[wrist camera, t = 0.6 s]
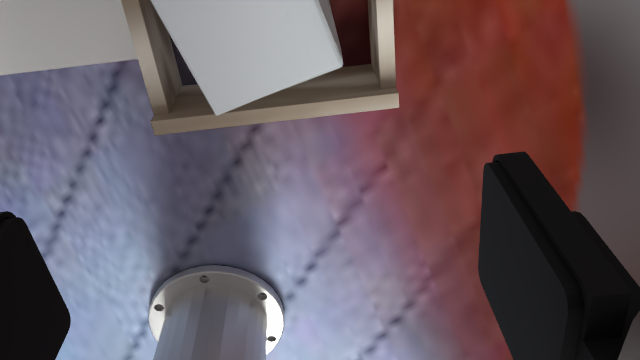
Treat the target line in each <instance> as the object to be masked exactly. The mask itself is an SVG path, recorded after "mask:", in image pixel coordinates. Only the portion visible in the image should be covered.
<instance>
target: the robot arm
mask: <svg viewBox="0 0 640 360" xmlns="http://www.w3.org/2000/svg"><path fill="white" fill-rule="evenodd" d="M478 270H479V277H480V281H481V284H482V287H483V289H484V291H485V294H486V296H487V298H488V301H489V303H490V306H491V308H492V310H493V313H494V315H495V317H496V320H497V322H498V324H499V327H500V329H501V331H502V334H503V336H504V338H505V341H506V343H507V345H508V348H509V350H510V352H511V355H512V357H513V359H514V360H640V287H639V286H638V285H637V283H636V282H635V281H634V279H633V278H632V277H631V276H630V274H629V273H628V272H627V270H626V269H625V268H624V267H623V265H622V264H621V263H620V262H619V260H618V259H617V258H616V256H615V255H614V254H613V253H612V251H611V250H610V249H609V248H608V246H607V245H606V244H605V242H604V241H603V240H602V239H601V237H600V236H599V235H598V234H597V232H596V231H595V230H594V228H593V227H592V226H591V224H590V223H589V222H588V221H587V219H586V218H585V217H584V216H583V215H582V214H581V213H579V212H576V211H573V212H571V211H570V210H569V208H568V207H567V206H566V204H565V203H564V202H563V200H562V199H561V198H560V196H559V195H558V194H557V192H556V191H555V190H554V188H553V187H552V186H551V184H550V183H549V182H548V180H547V179H546V178H545V177H544V175H543V174H542V173H541V171H540V170H539V169H538V167H537V166H536V165H535V163H534V162H533V161H532V159H531V158H530V157H529V155H528V154H527V153H526V152H516V153H507V154H499V155H495V156H494V158H493V162H492V163H486V164H485V166H484V171H483V190H482V208H481V226H480V245H479V263H478ZM148 318H149V326H150V329H151V332H152V334H153V336H154V337H155V339H156V340H157V342H158V344H157V348H156V351H155V355H154V358H153V360H266V354H268V353H269V352H270V351H271V350H272V349H273V348H274V347H275V346H276V344H277V343H278V342H279V340H280V338H281V336H282V333H283V328H284V310H283V305H282V303H281V301H280V299H279V296H278V295H277V294H276V292H275V291H274V290H273V289H272V287H270V286H269V285H268V284H267V283H266V282H265V281H264V280H262V279H260V278H259V277H257V276H255V275H254V274H252V273H249V272H246V271H244V270H241V269H237V268H233V267H229V266H218V265H210V266H199V267H195V268H190V269H187V270H184V271H182V272H179V273H177V274H175V275H174V276H172V277H171V278H169V279H167V280H166V281H165V282H164V283H163V284H162V285H161V286H160V287H159V288H158V290H157V291H156V293H155V295H154V296H153V299H152V302H151V305H150V309H149V315H148ZM69 328H70V313H69V311H68V309H67V307H66V304H65V302H64V300H63V298H62V296H61V294H60V292H59V290H58V288H57V286H56V284H55V282H54V280H53V278H52V276H51V274H50V272H49V270H48V268H47V266H46V264H45V262H44V260H43V258H42V256H41V253H40V251H39V249H38V247H37V245H36V243H35V241H34V239H33V237H32V235H31V233H30V231H29V229H28V227H27V225H26V223H25V222H24V220H23V219H22V218H19V217H16V216H15V215H14V214H13V213H11V212H8V211H7V212H0V360H55V359H56V357H57V354H58V352H59V350H60V348H61V346H62V344H63V342H64V339H65V337H66V335H67V333H68V331H69Z"/></svg>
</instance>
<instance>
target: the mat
mask: <svg viewBox="0 0 640 360" xmlns="http://www.w3.org/2000/svg"><path fill="white" fill-rule="evenodd" d="M135 59H138V58H137V54H136V51H135V47H134V44H133V40H132V37H131V33H130V30H129V26H128V23H127V19H126V16H125V13H124V9H123V6H122V2H121V0H0V75H8V74H16V73H25V72H33V71H42V70H50V69H59V68H67V67H76V66H84V65H93V64H101V63H110V62H118V61H127V60H135Z"/></svg>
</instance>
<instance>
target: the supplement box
mask: <svg viewBox="0 0 640 360" xmlns="http://www.w3.org/2000/svg"><path fill="white" fill-rule="evenodd" d="M151 2H152V4H153V6H154V8H155V9H156V11H157V13H158V15H159V17H160V18H161V20H162V22H163V24H164V25H165V27H166V29H167V31H168V32H169V34H170V36H171V38H172V40H173V41H174V43H175V45H176V47H177V48H178V50H179V52H180V54H181V55H182V57H183V59H184V61H185V62H186V64H187V66H188V68H189V70H190V71H191V73H192V75H193V77H194V78H195V80H196V82H197V83H198V85H199V87H200V89H201V90H202V92H203V94H204V96H205V97H206V99H207V101H208V102H209V104H210V106H211V108H212V109H213V111H214V113H215V115H217V116H218V115H220V114H223V113H225V112H228V111H230V110H233V109H235V108H237V107H240V106H242V105H245V104H247V103H250V102H252V101H254V100H257V99H259V98H262V97H265V96H267V95H270V94H272V93H275V92H278V91H280V90H283V89H286V88H288V87H291V86H293V85H296V84H299V83H301V82H304V81H307V80H309V79H312V78H315V77H317V76H320V75H323V74H325V73H328V72H331V71H333V70H336V69H339V68H341V67H342V66H343V59H342V52H341V47H340V43H339V39H338V35H337V31H336V27H335V23H334V19H333V15H332V11H331V6H330V1H329V0H151Z"/></svg>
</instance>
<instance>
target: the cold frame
mask: <svg viewBox="0 0 640 360" xmlns="http://www.w3.org/2000/svg"><path fill="white" fill-rule="evenodd" d="M121 2H122V6H123V9H124V13H125V16H126V19H127V23H128V26H129V30H130V33H131V37H132V40H133V44H134V47H135V51H136V54H137V58H138V61H139V65H140V68H141V72H142V75H143V79H144V82H145V86H146V89H147V92H148V96H149V99H150V103H151V106H152V110H153V113H154V116H153V118H152V120H151V125H152V128H153V131H154V135H163V134H172V133H181V132H190V131H198V130H207V129H216V128H224V127H233V126H242V125H251V124H259V123H268V122H277V121H285V120H294V119H303V118H312V117H320V116H329V115H338V114H346V113H355V112H364V111H373V110H381V109H390V108H399V94H398V91H397V89H396V75H395V47H394V19H393V0H368V16H369V33H370V50H371V64H365V65H357V66H348V67H341V68H339V69H336V70H333V71H331V72H328V73H325V74H323V75H320V76H317V77H315V78H312V79H309V80H307V81H304V82H301V83H299V84H296V85H293V86H291V87H288V88H286V89H283V90H280V91H278V92H275V93H272V94H270V95H267V96H265V97H262V98H259V99H257V100H254V101H252V102H250V103H247V104H245V105H242V106H240V107H237V108H235V109H233V110H230V111H228V112H225V113H223V114H220V115H218V116H217V115H215V113H214V111H213V109H212V108H211V106H210V104H209V102H208V101H207V99H206V97H205V96H204V94H203V92H202V90H201V89H200V87H199V85H198V84H194V85H185V86H182V82H181V78H180V74H179V70H178V66H177V62H176V58H175V55H174V51H173V47H172V43H171V39H170V35H169V32H168V31H167V29H166V27H165V25H164V24H163V22H162V20H161V18H160V17H159V15H158V13H157V11H156V9H155V8H154V6H153V4H152V2H151V0H121Z"/></svg>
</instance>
